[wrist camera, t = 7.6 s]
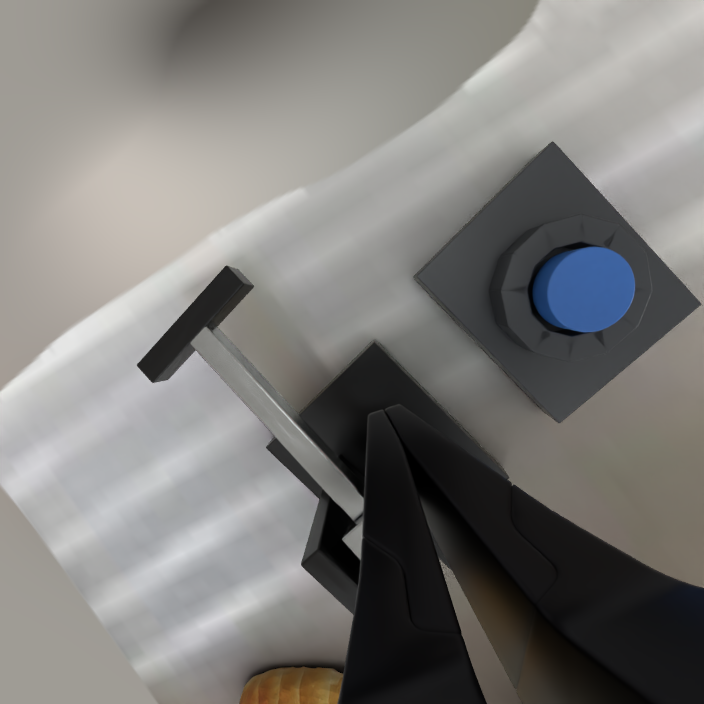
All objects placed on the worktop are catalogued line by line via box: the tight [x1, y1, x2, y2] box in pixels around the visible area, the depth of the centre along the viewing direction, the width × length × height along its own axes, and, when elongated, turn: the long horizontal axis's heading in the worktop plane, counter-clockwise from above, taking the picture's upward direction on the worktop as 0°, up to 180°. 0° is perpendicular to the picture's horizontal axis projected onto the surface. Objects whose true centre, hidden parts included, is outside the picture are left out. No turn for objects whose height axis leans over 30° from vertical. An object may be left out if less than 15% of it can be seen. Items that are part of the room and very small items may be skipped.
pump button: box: [532, 247, 635, 332], centre depth 18 cm, size 4×4×2 cm
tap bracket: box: [266, 340, 509, 615], centre depth 19 cm, size 11×9×10 cm
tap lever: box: [137, 266, 364, 561], centre depth 17 cm, size 14×6×2 cm, turn 45°
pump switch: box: [413, 141, 701, 423], centre depth 20 cm, size 11×9×4 cm
